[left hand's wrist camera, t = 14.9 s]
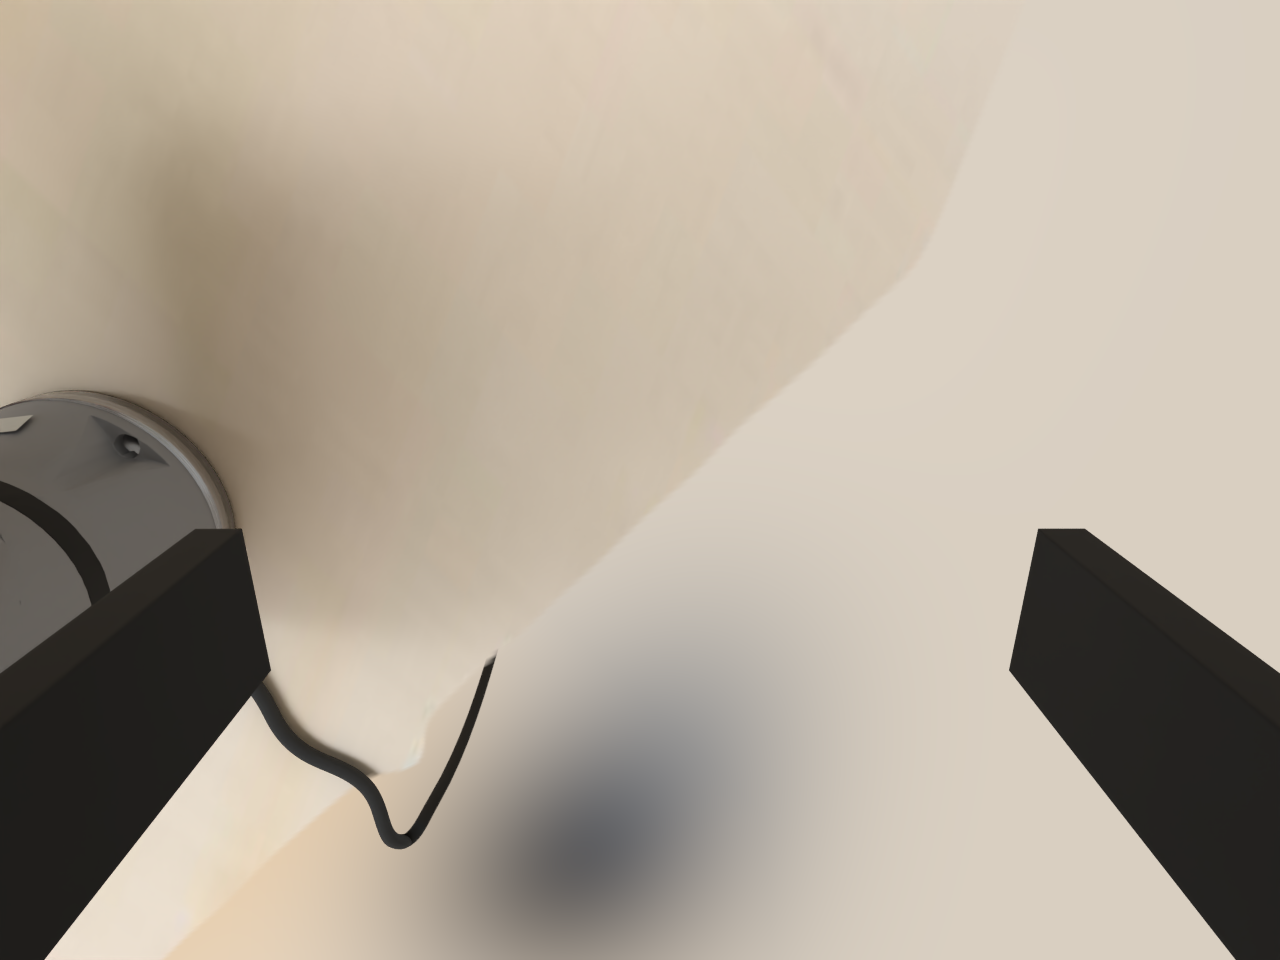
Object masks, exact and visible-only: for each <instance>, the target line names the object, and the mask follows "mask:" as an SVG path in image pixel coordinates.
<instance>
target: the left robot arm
mask: <svg viewBox="0 0 1280 960" xmlns="http://www.w3.org/2000/svg"><path fill="white" fill-rule="evenodd" d="M496 656H497V654H496V655H495V656H494V657H492V658H491V659H489V660H488V661H487V662H486V664H485V665H484V668H483V671H482V674H481V677H480V680H479V683H478V686H477V689H476V693H475V695H474V698H473V701H472V704H471V707H470V710H469V713H468V715H467V718H466V720H465V723H464V726H463V728H462V731H461V733H460V736H459V738H458V740H457V743H456V745H455V747H454V750H453V752H452V754H451V756H450V758H449V761H448V763H447V765H446V767H445V769H444V771H443V773H442V775H441V777H440V779H439V780H438V782H437V784H436V786H435V787H434V789H433V791H432V793H431V795H430V796H429V798H428V800H427V802H426V803H425V805H424V807H423V809H422V810H421V812H420V814H419V816H418V818H417V819H416V821H415V823H414V824H413V826H412V827H411V828H410V829H409V830H408V831H407V832H406V833H405V834H397V833H396V832H395V831H394V829H393V827H392V825H391V822H390V819H389V816H388V812H387V809H386V806H385V803H384V801H383V798H382V796H381V794H380V792H379V791H378V789H377V787H376V786H375V784H374V783H373V782H372V781H371V780H370V779H369V778H368V777H367V776H366V775H365V774H363V773H362V772H361V771H359V770H358V769H356V768H355V767H353V766H351V765H349V764H347V763H345V762H343V761H341V760H339V759H336V758H334V757H332V756H329V755H327V754H325V753H322V752H320V751H318V750H316V749H314V748H313V747H311V746H309V745H308V744H306V743H305V742H304V741H302V740H301V739H300V738H299V737H298V736H297V735H296V734H295V733H294V732H293V731H292V730H291V729H290V727H289V726H288V725H287V723H286V722H285V720H284V719H283V717H282V715H281V713H280V711H279V709H278V707H277V705H276V703H275V702H274V700H273V698H272V696H271V694H270V693H269V691H268V690H267V688H266V687H265V685H264V684H263V683H262V681H263V680H264V678H265V677H266V676H267V675H268V673H269V672H270V671H271V668H270V663H269V659H268V654H267V649H266V644H265V639H264V634H263V629H262V625H261V620H260V615H259V610H258V605H257V600H256V595H255V591H254V586H253V581H252V576H251V571H250V566H249V562H248V557H247V552H246V547H245V542H244V537H243V532H242V529H235V523H234V518H233V513H232V509H231V505H230V502H229V499H228V497H227V494H226V491H225V489H224V487H223V485H222V483H221V481H220V479H219V478H218V476H217V474H216V473H215V471H214V469H213V468H212V466H211V465H210V464H209V462H208V461H207V460H206V458H205V457H204V456H203V455H202V453H201V452H200V451H199V450H198V449H197V448H196V447H195V446H194V445H193V444H192V443H191V442H190V441H189V440H188V439H187V438H186V437H185V436H184V435H183V434H182V433H180V432H179V431H178V430H177V429H176V428H174V427H173V426H172V425H170V424H169V423H167V422H166V421H164V420H163V419H161V418H160V417H158V416H156V415H155V414H153V413H151V412H150V411H148V410H146V409H144V408H142V407H140V406H138V405H135V404H133V403H130V402H128V401H125V400H122V399H119V398H116V397H112V396H109V395H104V394H99V393H93V392H86V391H57V392H51V393H45V394H41V395H37V396H34V397H30V398H27V399H24V400H21V401H18V402H15V403H12V404H9V405H6V406H4V407H1V408H0V960H44V959H45V958H46V957H47V956H48V954H49V953H50V952H51V950H52V949H53V948H54V947H55V945H56V944H57V943H58V942H59V940H60V939H61V938H62V936H63V935H64V934H65V933H66V931H67V930H68V929H69V927H70V926H71V925H72V924H73V922H74V921H75V920H76V919H77V917H78V916H79V915H80V913H81V912H82V911H83V910H84V908H85V907H86V906H87V905H88V903H89V902H90V901H91V899H92V898H93V897H94V896H95V894H96V893H97V892H98V890H99V889H100V888H101V887H102V885H103V884H104V883H105V882H106V880H107V879H108V878H109V876H110V875H111V874H112V873H113V871H114V870H115V869H116V867H117V866H118V865H119V864H120V862H121V861H122V860H123V859H124V857H125V856H126V855H127V853H128V852H129V851H130V850H131V848H132V847H133V846H134V844H135V843H136V842H137V841H138V839H139V838H140V837H141V836H142V834H143V833H144V832H145V830H146V829H147V828H148V827H149V825H150V824H151V823H152V821H153V820H154V819H155V818H156V816H157V815H158V814H159V813H160V811H161V810H162V809H163V807H164V806H165V805H166V804H167V802H168V801H169V800H170V799H171V797H172V796H173V795H174V793H175V792H176V791H177V790H178V788H179V787H180V786H181V784H182V783H183V782H184V781H185V779H186V778H187V777H188V776H189V774H190V773H191V772H192V770H193V769H194V768H195V767H196V765H197V764H198V763H199V761H200V760H201V759H202V758H203V756H204V755H205V754H206V753H207V751H208V750H209V749H210V747H211V746H212V745H213V744H214V742H215V741H216V740H217V738H218V737H219V736H220V735H221V733H222V732H223V731H224V730H225V728H226V727H227V726H228V724H229V723H230V722H231V721H232V719H233V718H234V717H235V716H236V714H237V713H238V712H239V710H240V709H241V708H242V707H243V705H244V704H245V703H246V701H247V700H248V699H249V698H250V696H252V697H253V699H254V700H255V702H256V703H257V705H258V707H259V708H260V710H261V712H262V714H263V716H264V718H265V720H266V722H267V724H268V725H269V727H270V729H271V730H272V732H273V733H274V735H275V736H276V738H277V739H278V740H279V741H280V742H281V743H282V745H283V746H284V747H285V748H287V749H288V750H289V751H290V752H291V753H292V754H294V755H295V756H297V757H298V758H300V759H301V760H303V761H305V762H306V763H308V764H310V765H312V766H315V767H317V768H319V769H321V770H324V771H326V772H329V773H331V774H333V775H336V776H338V777H340V778H342V779H344V780H345V781H347V782H349V783H350V784H352V785H353V786H354V787H355V788H357V789H358V790H359V791H360V792H361V793H362V794H363V796H364V797H365V799H366V800H367V802H368V804H369V806H370V808H371V811H372V814H373V817H374V820H375V824H376V827H377V829H378V832H379V835H380V837H381V839H382V840H383V842H384V843H385V844H386V845H387V846H389V847H391V848H394V849H404V848H407V847H409V846H411V845H412V844H414V843H415V842H416V841H417V840H418V839H419V838H420V836H421V835H422V834H423V832H424V831H425V829H426V827H427V825H428V824H429V822H430V820H431V818H432V816H433V814H434V812H435V810H436V809H437V807H438V805H439V803H440V801H441V799H442V797H443V796H444V794H445V792H446V790H447V788H448V786H449V784H450V782H451V780H452V778H453V776H454V774H455V772H456V769H457V767H458V765H459V763H460V761H461V758H462V756H463V753H464V751H465V748H466V746H467V744H468V741H469V739H470V736H471V733H472V730H473V728H474V725H475V722H476V719H477V716H478V714H479V711H480V708H481V705H482V702H483V699H484V695H485V692H486V689H487V686H488V682H489V679H490V676H491V673H492V669H493V666H494V662H495V659H496ZM1009 671H1010V672H1011V673H1012V675H1013V676H1014V677H1015V678H1016V680H1017V681H1018V682H1019V684H1020V685H1021V686H1022V687H1023V689H1024V690H1025V691H1026V693H1027V694H1028V695H1029V696H1030V698H1031V699H1032V700H1033V701H1034V703H1035V704H1036V705H1037V707H1038V708H1039V709H1040V710H1041V712H1042V713H1043V714H1044V716H1045V717H1046V718H1047V719H1048V720H1049V722H1050V723H1051V724H1052V726H1053V727H1054V728H1055V730H1056V731H1057V732H1058V733H1059V735H1060V736H1061V737H1062V738H1063V740H1064V741H1065V742H1066V744H1067V745H1068V746H1069V747H1070V749H1071V750H1072V751H1073V753H1074V754H1075V755H1076V756H1077V758H1078V759H1079V760H1080V761H1081V763H1082V764H1083V765H1084V767H1085V768H1086V769H1087V770H1088V772H1089V773H1090V774H1091V776H1092V777H1093V778H1094V779H1095V781H1096V782H1097V783H1098V784H1099V786H1100V787H1101V788H1102V790H1103V791H1104V792H1105V793H1106V795H1107V796H1108V797H1109V799H1110V800H1111V801H1112V802H1113V804H1114V805H1115V806H1116V807H1117V809H1118V810H1119V811H1120V812H1121V814H1122V815H1123V816H1124V818H1125V819H1126V820H1127V822H1128V823H1129V824H1130V825H1131V827H1132V828H1133V829H1134V830H1135V832H1136V833H1137V834H1138V836H1139V837H1140V838H1141V839H1142V841H1143V842H1144V843H1145V844H1146V846H1147V847H1148V848H1149V850H1150V851H1151V852H1152V853H1153V855H1154V856H1155V857H1156V859H1157V860H1158V861H1159V862H1160V864H1161V865H1162V866H1163V867H1164V869H1165V870H1166V871H1167V873H1168V874H1169V875H1170V876H1171V878H1172V879H1173V880H1174V882H1175V883H1176V884H1177V885H1178V887H1179V888H1180V889H1181V890H1182V892H1183V893H1184V894H1185V896H1186V897H1187V898H1188V899H1189V901H1190V902H1191V903H1192V905H1193V906H1194V907H1195V908H1196V910H1197V911H1198V912H1199V913H1200V915H1201V916H1202V917H1203V919H1204V920H1205V921H1206V922H1207V924H1208V925H1209V926H1210V927H1211V929H1212V930H1213V931H1214V933H1215V934H1216V935H1217V936H1218V938H1219V939H1220V940H1221V942H1222V943H1223V944H1224V945H1225V947H1226V948H1227V949H1228V950H1229V952H1230V953H1231V954H1232V956H1233V957H1234V958H1235V959H1236V960H1280V673H1279V672H1277V671H1276V670H1275V669H1273V668H1272V667H1270V666H1269V665H1268V664H1266V663H1265V662H1264V661H1262V660H1261V659H1260V658H1258V657H1257V656H1256V655H1254V654H1253V653H1252V652H1250V651H1249V650H1248V649H1246V648H1245V647H1243V646H1242V645H1241V644H1239V643H1238V642H1237V641H1235V640H1234V639H1233V638H1231V637H1230V636H1229V635H1227V634H1226V633H1225V632H1223V631H1222V630H1221V629H1219V628H1218V627H1217V626H1215V625H1214V624H1213V623H1211V622H1210V621H1208V620H1207V619H1206V618H1204V617H1203V616H1202V615H1200V614H1199V613H1198V612H1196V611H1195V610H1194V609H1192V608H1191V607H1190V606H1188V605H1187V604H1186V603H1184V602H1183V601H1182V600H1180V599H1179V598H1177V597H1176V596H1175V595H1173V594H1172V593H1171V592H1169V591H1168V590H1167V589H1165V588H1164V587H1163V586H1161V585H1160V584H1159V583H1157V582H1156V581H1155V580H1153V579H1152V578H1150V577H1149V576H1148V575H1146V574H1145V573H1144V572H1142V571H1141V570H1140V569H1138V568H1137V567H1136V566H1134V565H1133V564H1132V563H1130V562H1129V561H1128V560H1126V559H1125V558H1123V557H1122V556H1121V555H1119V554H1118V553H1117V552H1115V551H1114V550H1113V549H1111V548H1110V547H1109V546H1107V545H1106V544H1105V543H1103V542H1102V541H1101V540H1099V539H1098V538H1097V537H1095V536H1094V535H1092V534H1091V533H1090V532H1088V531H1087V530H1086V529H1038V532H1037V537H1036V542H1035V547H1034V552H1033V557H1032V562H1031V567H1030V571H1029V576H1028V581H1027V586H1026V591H1025V596H1024V600H1023V605H1022V610H1021V615H1020V620H1019V625H1018V629H1017V634H1016V639H1015V644H1014V649H1013V654H1012V659H1011V663H1010V668H1009Z"/></svg>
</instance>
